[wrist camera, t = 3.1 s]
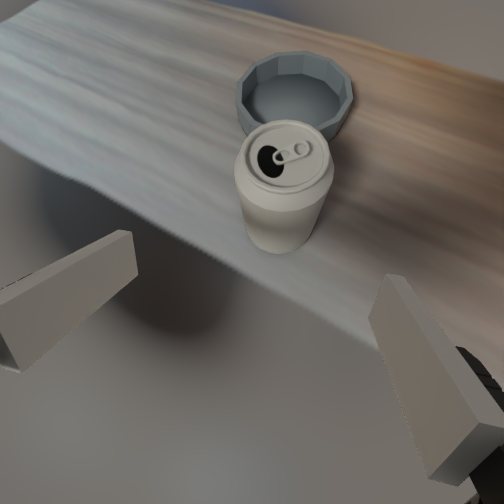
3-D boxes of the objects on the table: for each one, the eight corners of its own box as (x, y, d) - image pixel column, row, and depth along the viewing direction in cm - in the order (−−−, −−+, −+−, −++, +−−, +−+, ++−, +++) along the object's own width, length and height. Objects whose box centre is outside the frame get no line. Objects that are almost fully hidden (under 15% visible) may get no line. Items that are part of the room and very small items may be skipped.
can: (240, 206, 29) (220, 123, 17) (299, 191, 29) (319, 99, 18) (255, 263, 26) (244, 211, 15) (320, 247, 26) (358, 182, 15)
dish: (361, 94, 33) (370, 71, 30) (314, 170, 30) (319, 152, 27) (271, 63, 36) (271, 40, 33) (219, 129, 33) (214, 109, 30)
